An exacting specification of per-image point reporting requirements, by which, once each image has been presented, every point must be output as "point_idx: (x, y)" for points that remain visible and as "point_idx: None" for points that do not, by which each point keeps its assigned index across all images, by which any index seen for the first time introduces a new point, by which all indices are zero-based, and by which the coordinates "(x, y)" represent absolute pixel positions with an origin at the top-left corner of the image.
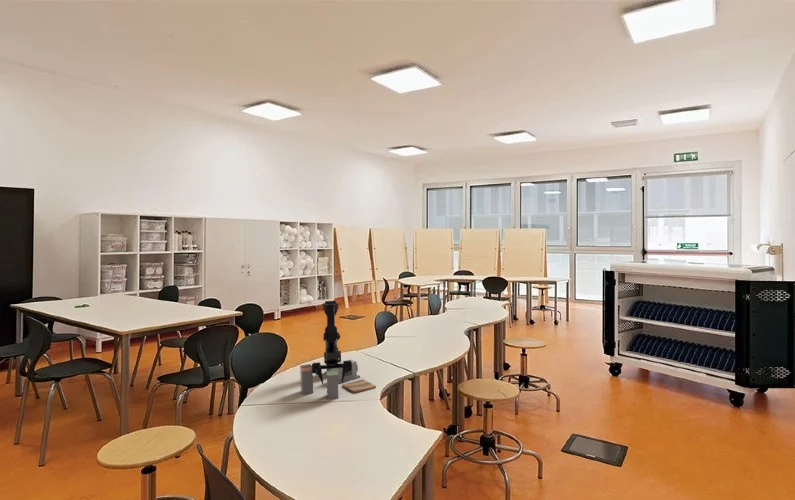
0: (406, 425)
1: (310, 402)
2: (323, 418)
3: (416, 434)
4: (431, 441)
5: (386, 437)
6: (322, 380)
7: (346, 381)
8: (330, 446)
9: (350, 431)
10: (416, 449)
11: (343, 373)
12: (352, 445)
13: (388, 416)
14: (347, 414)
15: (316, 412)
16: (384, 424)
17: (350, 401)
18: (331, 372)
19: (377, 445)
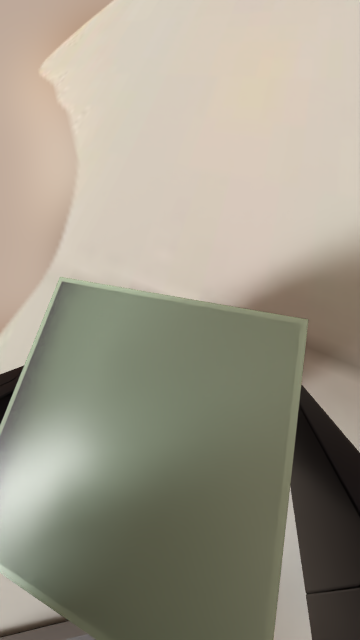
0: (70, 95)
1: (342, 356)
2: (286, 161)
3: (75, 61)
4: (68, 40)
5: (138, 51)
6: (308, 408)
7: (36, 630)
8: (287, 14)
9: (212, 76)
10: (108, 17)
11: (13, 378)
12: (227, 21)
13: (79, 142)
14: (187, 176)
15: (313, 219)
16: (111, 104)
17: (135, 287)
18: (181, 303)
19: (171, 24)
